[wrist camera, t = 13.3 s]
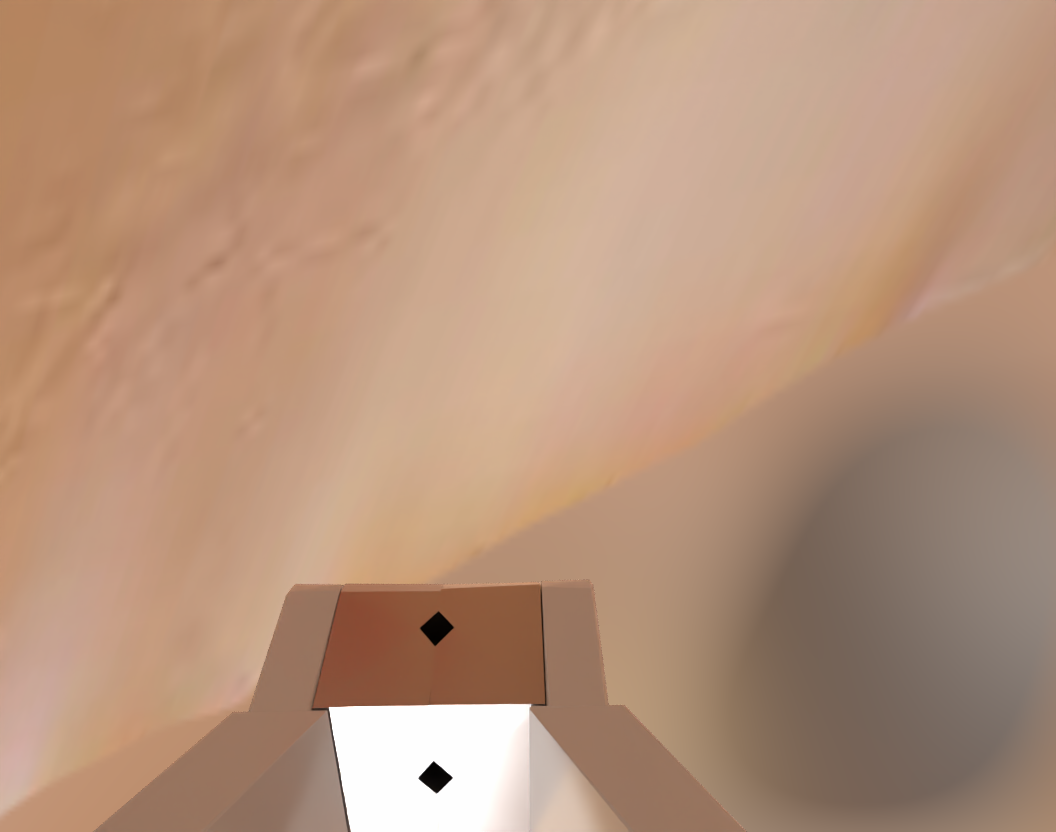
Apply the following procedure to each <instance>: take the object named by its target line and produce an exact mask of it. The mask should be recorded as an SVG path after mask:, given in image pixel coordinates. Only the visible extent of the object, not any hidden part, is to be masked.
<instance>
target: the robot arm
mask: <svg viewBox="0 0 1056 832" xmlns="http://www.w3.org/2000/svg"><path fill="white" fill-rule="evenodd" d="M93 832H747V831H745V829H744V828H742V826H741V825H740V824H739V823H738V822H737V821H736V820H735V819H734V818H733V817H732V816H731V815H730V814H729V813H728V812H727V811H726V810H725V809H724V808H723V807H722V806H721V805H720V804H719V802H717V801H716V799H715V798H714V797H713V796H712V795H711V794H710V793H709V792H708V791H707V790H706V789H705V788H704V787H703V786H702V785H701V784H700V783H699V782H698V781H697V780H696V779H695V778H694V777H693V776H692V775H691V774H690V772H689V771H688V770H686V768H685V767H684V766H683V765H682V764H681V763H680V762H679V761H678V760H677V759H676V758H675V757H674V756H673V755H672V754H671V753H670V752H669V751H668V750H667V749H666V748H665V747H664V746H663V744H662V743H661V742H660V741H659V740H658V739H656V737H655V736H654V735H653V734H652V733H651V732H650V731H649V730H648V729H647V728H646V727H645V726H644V725H643V724H642V723H641V722H640V721H639V720H638V719H637V718H636V717H635V715H634V714H632V713H631V711H630V710H629V709H628V708H627V707H626V706H625V705H609V703H608V695H607V688H606V680H605V672H604V664H603V657H602V650H601V641H600V634H599V625H598V618H597V610H596V602H595V594H594V587H593V584H592V583H591V582H590V580H588V579H586V580H559V581H541V585H540V583H539V582H526V583H482V584H345V585H317V584H295V585H294V586H293V587H292V589H291V590H290V591H289V592H288V594H287V595H286V597H285V601H284V604H283V607H282V610H281V613H280V616H279V619H278V622H277V625H276V628H275V631H274V634H273V637H272V640H271V644H270V647H269V650H268V653H267V656H266V659H265V662H264V665H263V668H262V671H261V674H260V677H259V680H258V683H257V686H256V690H255V693H254V696H253V699H252V702H251V705H250V708H249V711H248V712H232V713H231V714H230V715H229V716H227V717H226V718H225V719H224V720H223V721H222V722H221V723H219V724H218V725H217V726H216V727H215V728H214V729H212V730H211V731H210V732H209V733H208V734H206V735H205V736H204V737H203V738H202V739H201V740H199V741H198V742H197V743H196V744H195V745H194V746H192V747H191V748H190V749H189V750H188V751H187V752H185V753H184V754H183V755H182V756H181V757H180V758H178V759H177V760H176V761H175V762H174V763H173V764H171V765H170V766H169V767H168V768H167V769H166V770H164V771H163V772H162V773H161V774H160V775H159V776H157V777H156V778H155V779H154V780H153V781H152V782H150V783H149V784H148V785H147V786H146V787H145V788H143V789H142V790H141V791H140V792H139V793H138V794H136V795H135V796H134V797H133V798H132V799H131V800H130V801H128V802H127V803H126V804H125V805H124V806H122V807H121V808H120V809H119V810H118V811H117V812H115V813H114V814H113V815H112V816H111V817H110V818H108V819H107V820H106V821H105V822H104V823H103V824H101V825H100V826H99V827H98V828H97V829H96V830H94V831H93Z"/></svg>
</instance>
